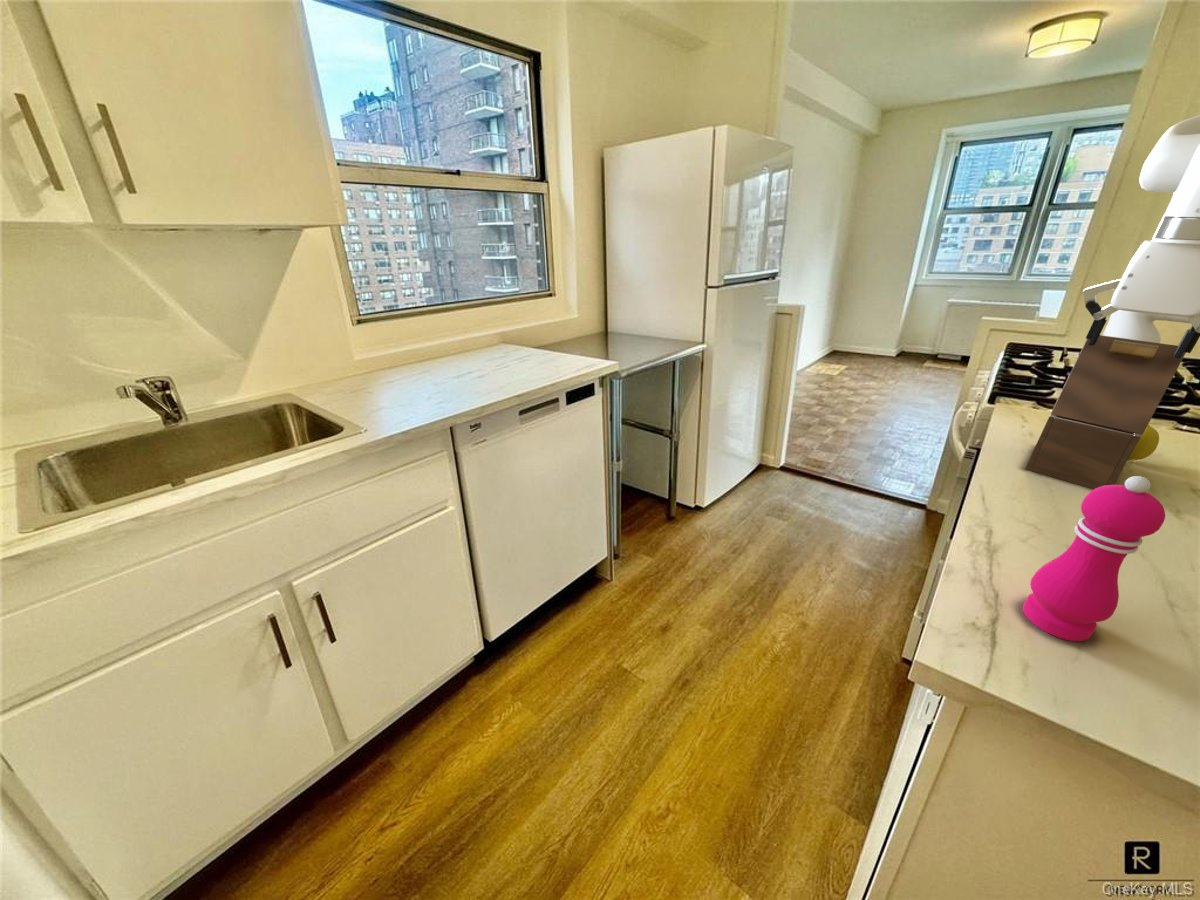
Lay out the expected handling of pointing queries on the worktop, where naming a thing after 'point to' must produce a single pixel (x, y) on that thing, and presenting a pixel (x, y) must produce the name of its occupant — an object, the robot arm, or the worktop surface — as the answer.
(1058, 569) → the pepper mill
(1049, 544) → the worktop surface
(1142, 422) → the lid
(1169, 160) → the robot arm
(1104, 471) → the chest
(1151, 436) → the lemon
